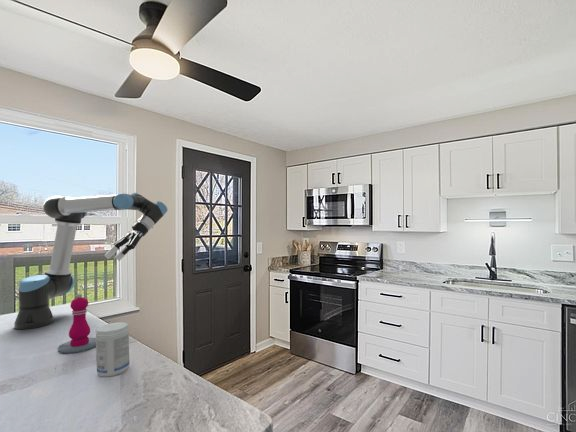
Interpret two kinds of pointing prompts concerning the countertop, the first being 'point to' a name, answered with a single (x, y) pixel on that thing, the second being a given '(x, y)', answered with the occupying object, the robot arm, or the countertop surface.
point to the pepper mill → (79, 322)
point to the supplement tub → (112, 349)
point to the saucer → (69, 349)
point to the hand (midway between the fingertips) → (111, 258)
